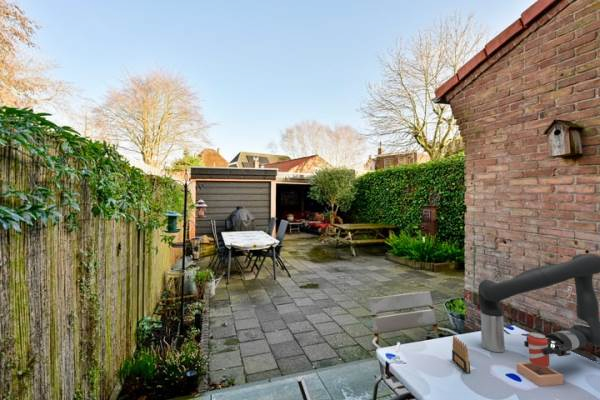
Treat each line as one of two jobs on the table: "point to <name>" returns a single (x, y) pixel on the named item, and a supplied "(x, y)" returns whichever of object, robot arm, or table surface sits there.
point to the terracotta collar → (541, 380)
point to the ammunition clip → (460, 355)
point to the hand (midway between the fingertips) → (534, 348)
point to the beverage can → (538, 349)
